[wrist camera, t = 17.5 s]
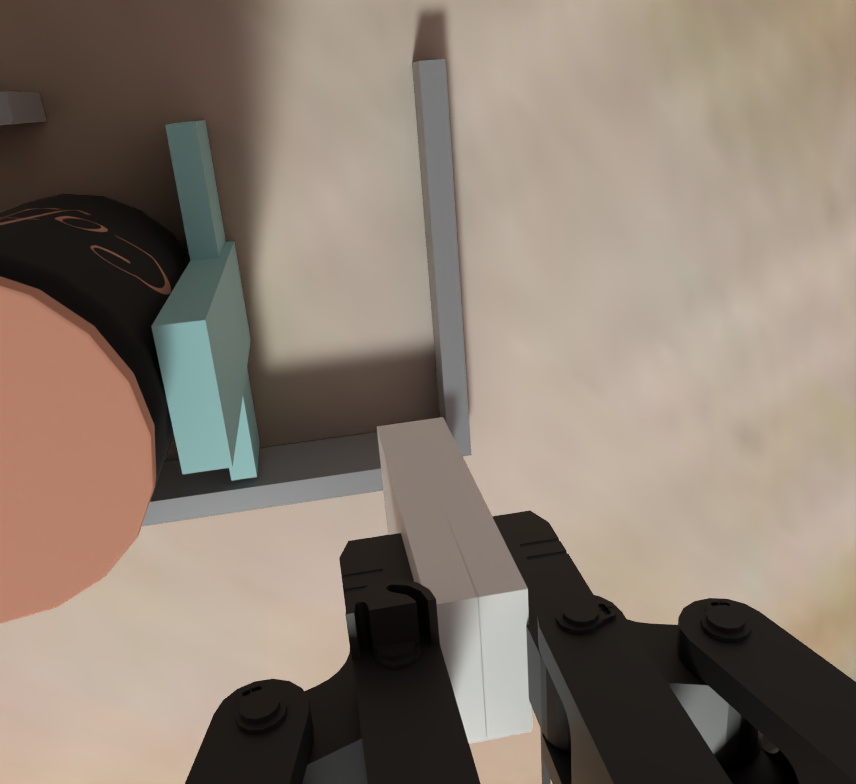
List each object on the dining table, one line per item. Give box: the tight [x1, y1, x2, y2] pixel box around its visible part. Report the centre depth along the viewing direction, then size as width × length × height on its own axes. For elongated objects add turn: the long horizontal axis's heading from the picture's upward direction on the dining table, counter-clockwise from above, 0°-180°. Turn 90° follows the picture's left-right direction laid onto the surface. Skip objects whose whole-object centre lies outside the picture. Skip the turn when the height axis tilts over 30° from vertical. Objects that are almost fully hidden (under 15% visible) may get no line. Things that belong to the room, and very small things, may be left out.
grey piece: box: [0, 59, 471, 526], centre depth 37 cm, size 19×25×4 cm
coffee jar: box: [0, 194, 190, 623], centre depth 30 cm, size 11×11×18 cm
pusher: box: [151, 120, 260, 481], centre depth 32 cm, size 16×2×15 cm, turn 5°
